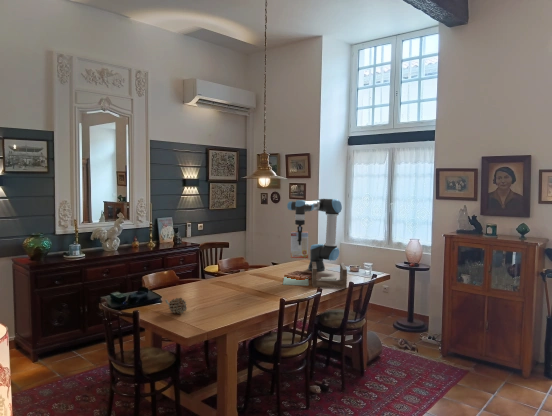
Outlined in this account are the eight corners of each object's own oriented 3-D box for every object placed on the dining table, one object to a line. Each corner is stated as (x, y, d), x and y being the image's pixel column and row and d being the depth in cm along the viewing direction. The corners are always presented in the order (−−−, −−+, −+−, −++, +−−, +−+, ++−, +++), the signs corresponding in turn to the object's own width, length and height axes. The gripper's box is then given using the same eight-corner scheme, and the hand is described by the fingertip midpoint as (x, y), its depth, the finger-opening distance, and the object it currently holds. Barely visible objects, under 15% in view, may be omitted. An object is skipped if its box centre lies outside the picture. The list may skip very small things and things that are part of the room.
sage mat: (284, 277, 359) (284, 276, 359) (308, 278, 358) (308, 277, 358) (282, 284, 336) (282, 284, 335) (308, 285, 334) (308, 284, 334)
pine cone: (191, 314, 263) (191, 298, 262) (178, 317, 256) (178, 301, 255) (170, 306, 278) (169, 291, 277) (157, 310, 270) (157, 294, 269)
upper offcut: (321, 280, 345) (321, 277, 344) (336, 281, 342) (336, 278, 342) (320, 282, 339) (320, 278, 338) (335, 282, 336) (336, 279, 336)
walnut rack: (311, 278, 357) (312, 261, 356) (343, 279, 355) (343, 262, 354) (312, 286, 331) (312, 268, 330) (346, 287, 330) (347, 269, 328)
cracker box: (308, 257, 348) (308, 231, 346) (308, 258, 342) (308, 232, 340) (290, 256, 349) (291, 230, 347) (290, 258, 343) (290, 231, 341)
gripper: (295, 218, 352) (294, 246, 354) (295, 220, 334) (294, 250, 335) (304, 218, 352) (303, 246, 354) (305, 220, 333) (304, 250, 335)
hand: (299, 248), depth 345 cm, fingers closed on cracker box, 6 cm apart
